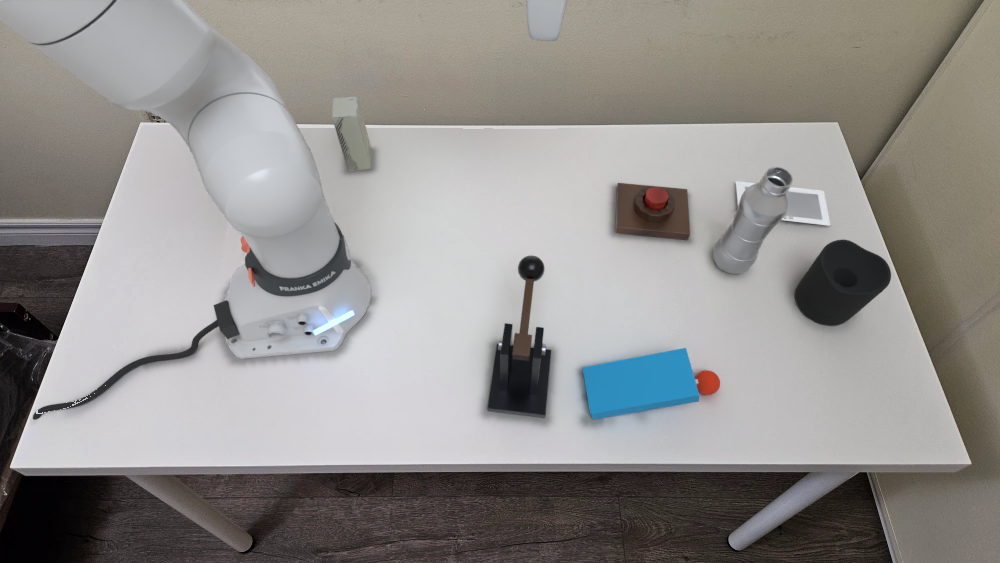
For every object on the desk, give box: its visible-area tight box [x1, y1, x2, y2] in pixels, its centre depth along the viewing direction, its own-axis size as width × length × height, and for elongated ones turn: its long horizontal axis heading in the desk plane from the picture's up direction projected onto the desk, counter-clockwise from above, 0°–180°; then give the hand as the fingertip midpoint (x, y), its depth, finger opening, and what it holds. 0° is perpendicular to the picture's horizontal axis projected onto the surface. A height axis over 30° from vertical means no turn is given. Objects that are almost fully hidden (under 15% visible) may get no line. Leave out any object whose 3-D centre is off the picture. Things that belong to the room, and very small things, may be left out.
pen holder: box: [794, 239, 892, 326], centre depth 85 cm, size 9×9×10 cm
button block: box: [614, 182, 691, 241], centre depth 98 cm, size 12×10×4 cm
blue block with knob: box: [582, 347, 721, 420], centre depth 80 cm, size 7×7×18 cm
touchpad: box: [735, 180, 831, 227], centre depth 99 cm, size 8×15×2 cm, turn 81°
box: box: [331, 96, 373, 172], centre depth 101 cm, size 5×4×13 cm
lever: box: [512, 254, 545, 361], centre depth 75 cm, size 14×4×4 cm, turn 173°
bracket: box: [486, 322, 552, 419], centre depth 77 cm, size 10×8×13 cm
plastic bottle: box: [712, 166, 794, 275], centre depth 85 cm, size 6×7×20 cm
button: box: [644, 186, 668, 210], centre depth 96 cm, size 4×4×2 cm
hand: (547, 30), depth 80 cm, fingers closed
